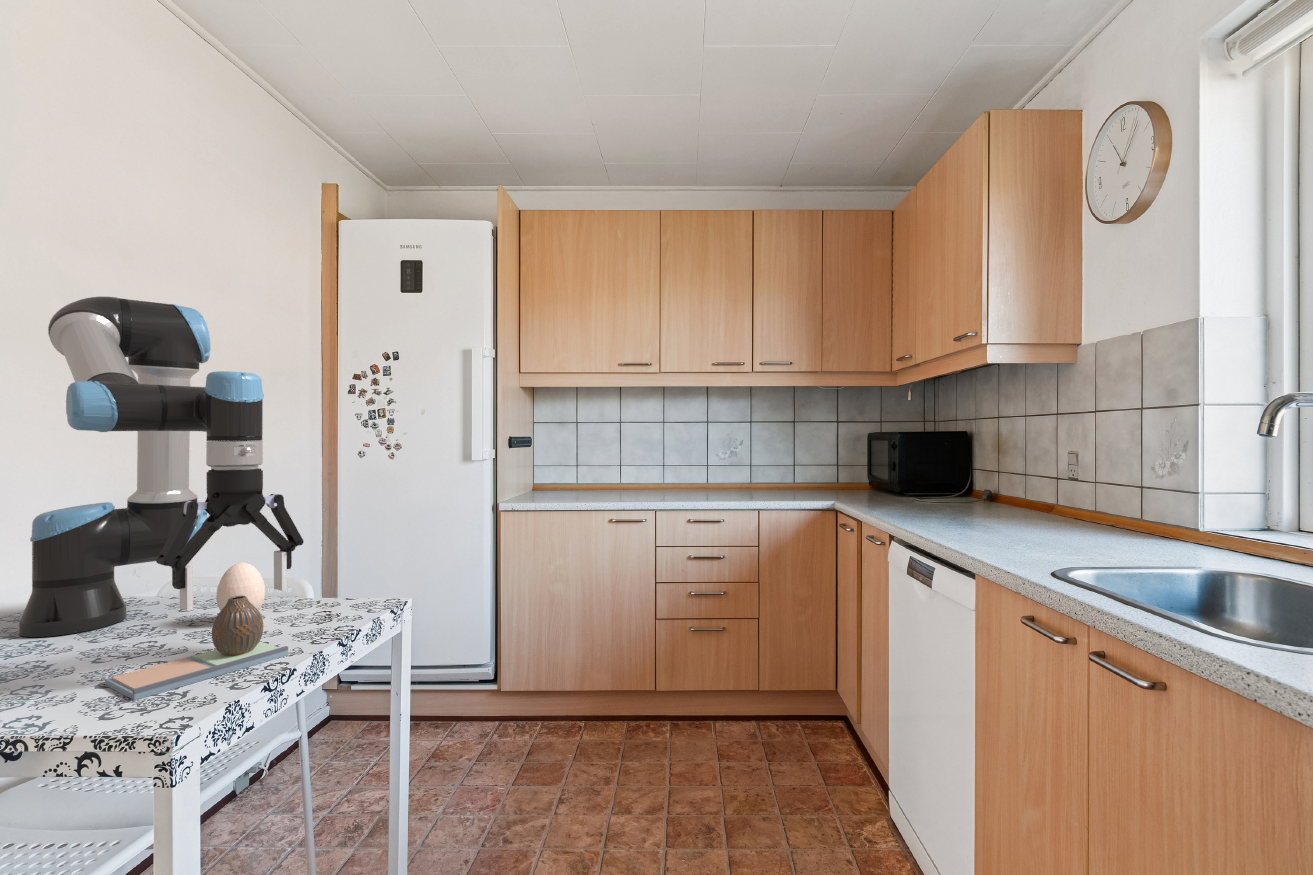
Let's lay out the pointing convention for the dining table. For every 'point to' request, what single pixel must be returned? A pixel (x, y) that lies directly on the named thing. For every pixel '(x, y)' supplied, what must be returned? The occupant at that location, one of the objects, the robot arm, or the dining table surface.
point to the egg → (241, 585)
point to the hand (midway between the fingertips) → (236, 598)
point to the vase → (237, 627)
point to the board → (189, 671)
